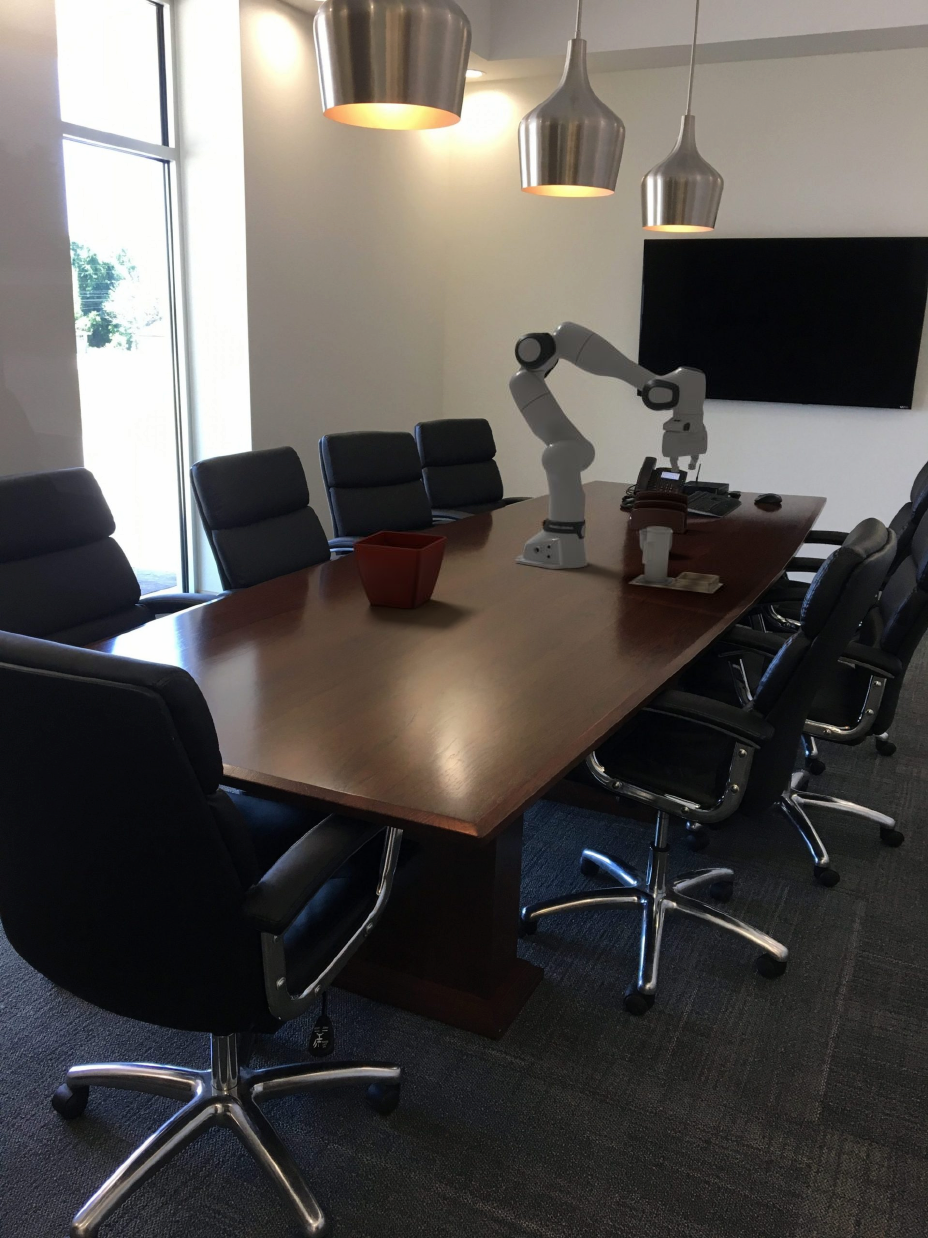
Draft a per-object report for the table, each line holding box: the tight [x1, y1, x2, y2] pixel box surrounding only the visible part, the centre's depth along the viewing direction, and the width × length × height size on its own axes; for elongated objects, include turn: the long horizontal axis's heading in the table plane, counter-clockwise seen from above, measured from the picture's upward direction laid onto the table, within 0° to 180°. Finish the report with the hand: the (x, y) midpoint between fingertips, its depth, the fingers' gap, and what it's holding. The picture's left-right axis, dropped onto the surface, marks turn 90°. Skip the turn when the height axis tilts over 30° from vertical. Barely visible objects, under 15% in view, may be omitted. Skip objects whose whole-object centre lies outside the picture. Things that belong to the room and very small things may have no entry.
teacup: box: [638, 529, 674, 552], centre depth 333 cm, size 14×11×8 cm
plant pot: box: [352, 530, 447, 610], centre depth 263 cm, size 19×19×17 cm
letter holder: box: [629, 490, 689, 535], centre depth 375 cm, size 10×20×14 cm, turn 71°
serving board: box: [628, 571, 723, 594], centre depth 286 cm, size 24×13×4 cm, turn 64°
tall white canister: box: [642, 526, 671, 582], centre depth 286 cm, size 10×7×15 cm
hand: (683, 471), depth 298 cm, fingers open, 8 cm apart
